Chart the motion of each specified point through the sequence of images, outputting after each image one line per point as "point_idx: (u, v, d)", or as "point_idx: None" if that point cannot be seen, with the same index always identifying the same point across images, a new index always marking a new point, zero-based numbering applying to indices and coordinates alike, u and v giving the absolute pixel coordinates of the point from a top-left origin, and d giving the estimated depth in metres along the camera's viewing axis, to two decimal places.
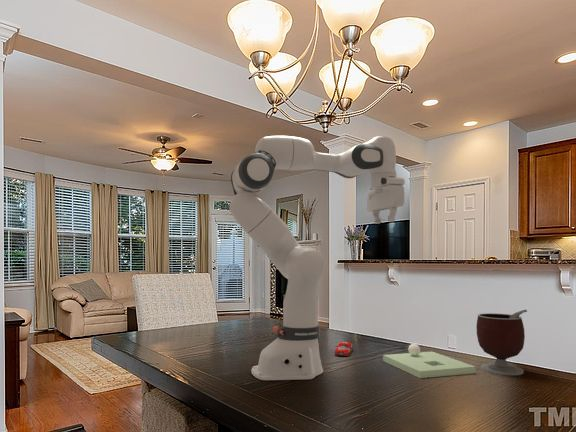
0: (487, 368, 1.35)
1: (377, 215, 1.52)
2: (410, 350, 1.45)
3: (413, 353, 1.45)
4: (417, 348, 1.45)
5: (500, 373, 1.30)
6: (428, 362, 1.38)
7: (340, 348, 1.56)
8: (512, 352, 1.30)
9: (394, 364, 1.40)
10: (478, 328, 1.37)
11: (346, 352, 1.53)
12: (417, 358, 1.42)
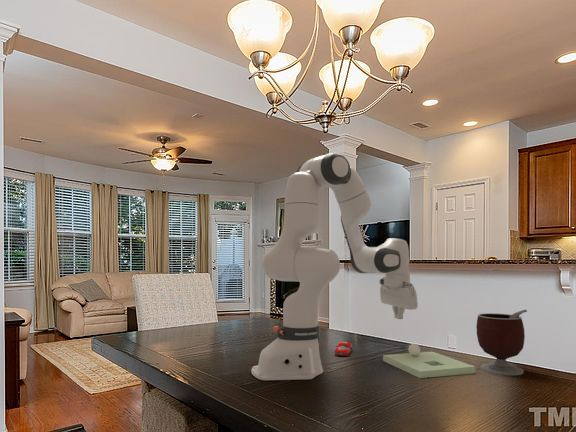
0: (487, 368, 1.35)
1: None
2: (410, 350, 1.45)
3: (413, 353, 1.45)
4: (417, 348, 1.45)
5: (500, 373, 1.30)
6: (428, 362, 1.38)
7: (340, 348, 1.56)
8: (512, 352, 1.30)
9: (394, 364, 1.40)
10: (478, 328, 1.37)
11: (346, 352, 1.53)
12: (417, 358, 1.42)
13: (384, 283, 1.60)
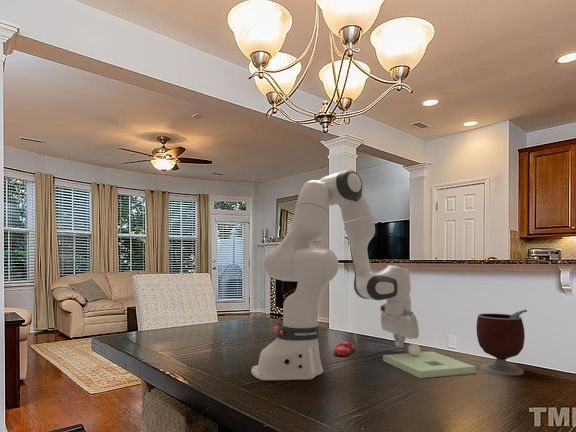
0: (487, 368, 1.35)
1: None
2: (410, 350, 1.45)
3: (413, 353, 1.45)
4: (417, 348, 1.45)
5: (500, 373, 1.30)
6: (428, 362, 1.38)
7: (339, 348, 1.56)
8: (512, 352, 1.30)
9: (394, 364, 1.40)
10: (478, 328, 1.37)
11: (344, 352, 1.53)
12: (417, 358, 1.42)
13: (385, 310, 1.59)
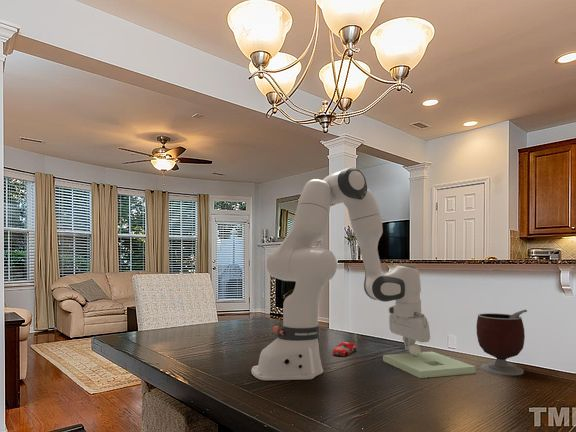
0: (487, 368, 1.35)
1: None
2: (411, 350, 1.45)
3: (413, 354, 1.45)
4: (418, 349, 1.44)
5: (500, 373, 1.30)
6: (428, 362, 1.38)
7: (339, 348, 1.56)
8: (512, 352, 1.30)
9: (394, 364, 1.40)
10: (478, 328, 1.37)
11: (343, 352, 1.53)
12: (417, 358, 1.42)
13: (394, 312, 1.53)
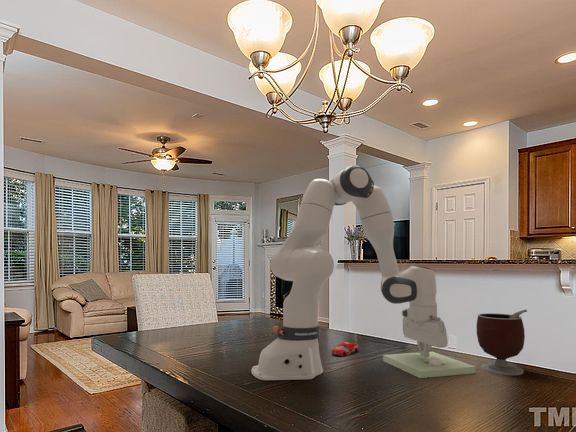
0: (487, 368, 1.35)
1: None
2: (431, 364, 1.34)
3: None
4: (438, 362, 1.34)
5: (500, 373, 1.30)
6: (428, 362, 1.38)
7: (338, 348, 1.56)
8: (512, 352, 1.30)
9: (394, 364, 1.40)
10: (478, 328, 1.37)
11: (340, 352, 1.53)
12: (417, 358, 1.42)
13: (408, 316, 1.44)
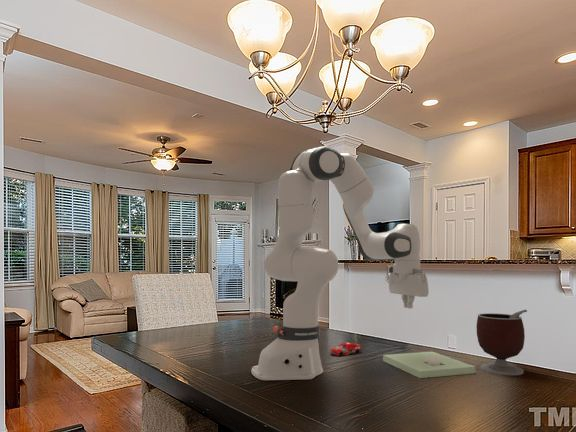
0: (487, 368, 1.35)
1: None
2: (429, 363, 1.35)
3: (433, 365, 1.34)
4: (436, 359, 1.35)
5: (500, 373, 1.30)
6: None
7: (336, 347, 1.57)
8: (512, 352, 1.30)
9: (394, 364, 1.40)
10: (478, 328, 1.37)
11: (337, 352, 1.54)
12: (417, 358, 1.42)
13: (393, 271, 1.54)
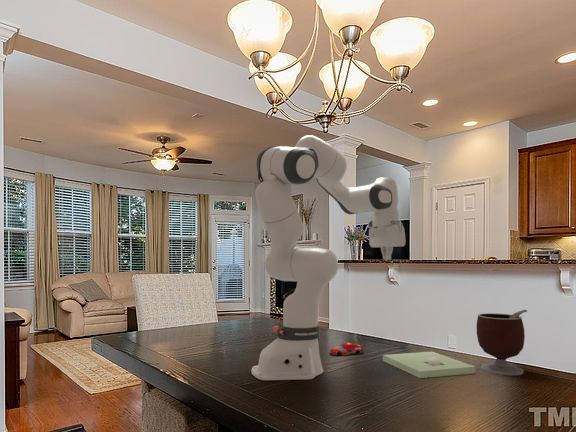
0: (487, 368, 1.35)
1: None
2: (430, 363, 1.35)
3: None
4: (437, 360, 1.34)
5: (500, 373, 1.30)
6: None
7: (336, 347, 1.57)
8: (512, 352, 1.30)
9: (394, 364, 1.40)
10: (478, 328, 1.37)
11: (334, 351, 1.54)
12: (417, 358, 1.42)
13: (372, 224, 1.58)
